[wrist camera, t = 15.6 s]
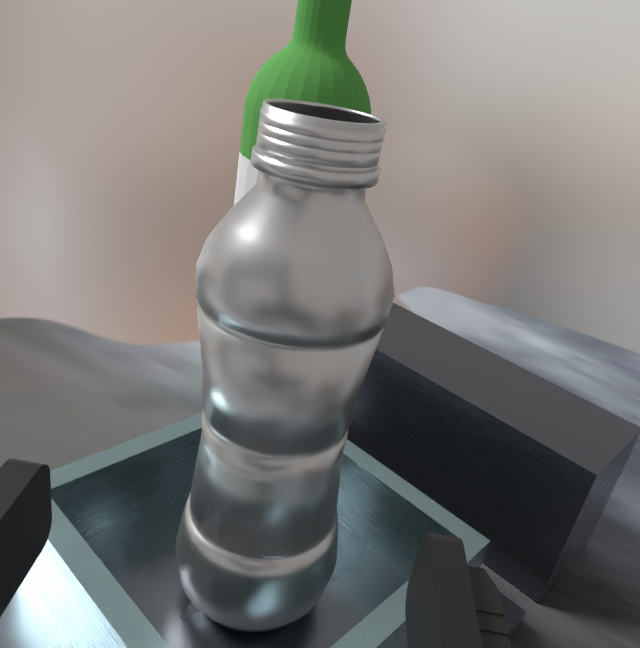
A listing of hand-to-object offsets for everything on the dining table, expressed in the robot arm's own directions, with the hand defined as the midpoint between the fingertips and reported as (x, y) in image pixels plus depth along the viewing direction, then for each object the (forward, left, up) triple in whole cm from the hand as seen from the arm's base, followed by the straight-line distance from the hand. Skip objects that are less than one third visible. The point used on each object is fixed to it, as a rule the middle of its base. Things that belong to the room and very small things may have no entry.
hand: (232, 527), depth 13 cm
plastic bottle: (+7, +6, -13) cm, 16 cm away
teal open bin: (+11, +6, -13) cm, 18 cm away
